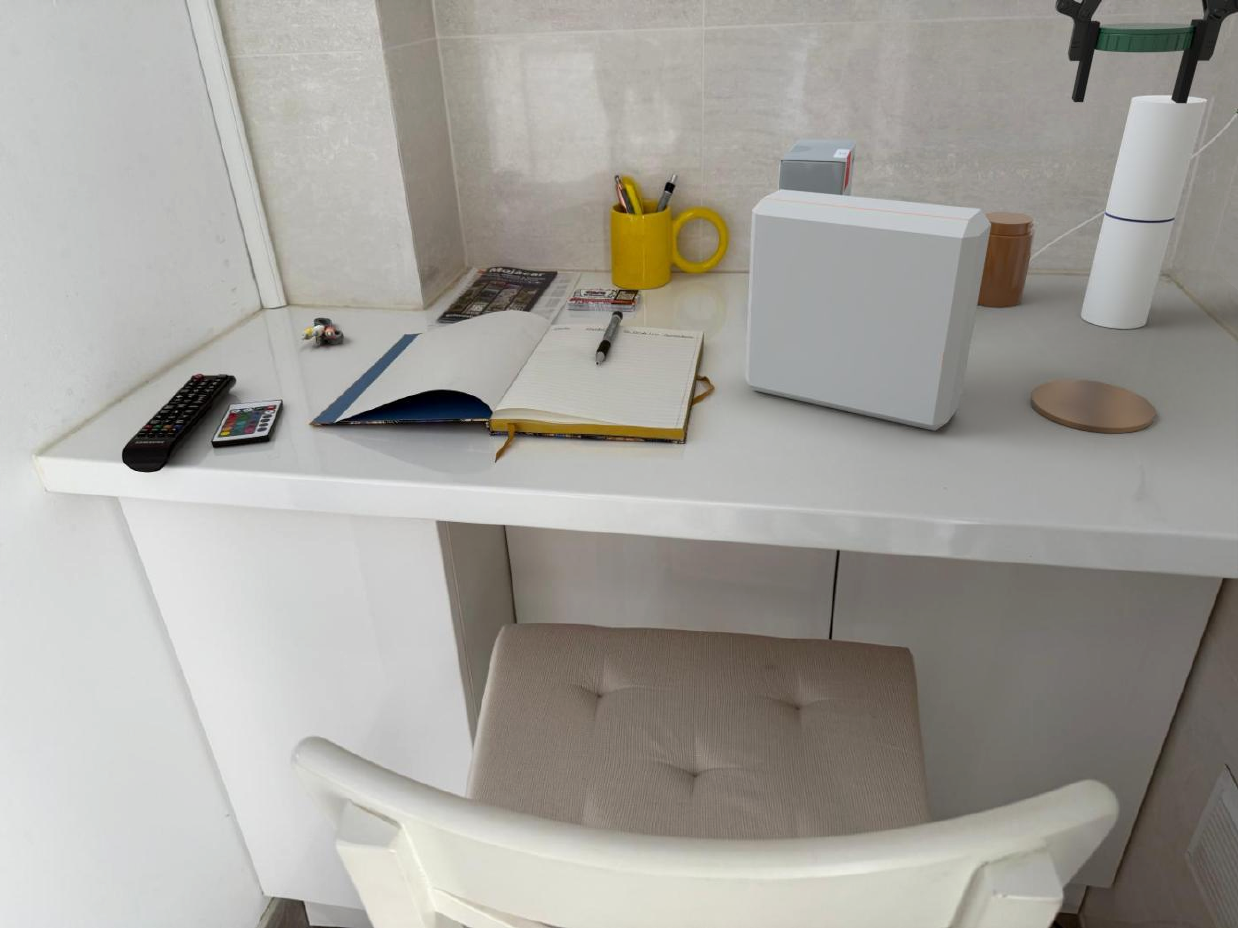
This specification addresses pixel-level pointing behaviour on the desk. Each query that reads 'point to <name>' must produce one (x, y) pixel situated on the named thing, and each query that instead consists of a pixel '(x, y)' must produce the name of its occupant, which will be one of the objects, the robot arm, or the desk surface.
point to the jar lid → (1144, 37)
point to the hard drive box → (818, 166)
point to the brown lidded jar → (1006, 259)
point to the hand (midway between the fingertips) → (1127, 100)
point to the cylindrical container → (1141, 209)
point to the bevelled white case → (864, 303)
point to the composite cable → (323, 332)
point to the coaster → (1093, 406)
